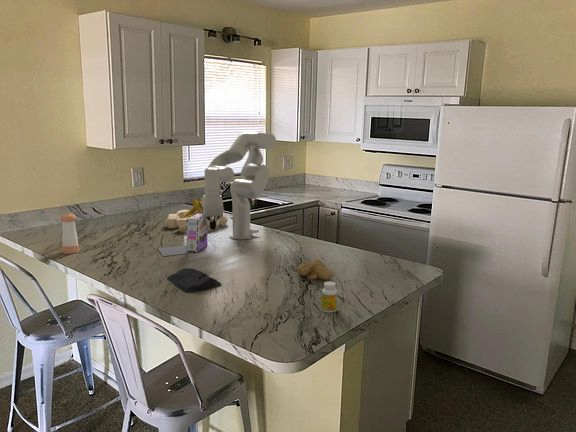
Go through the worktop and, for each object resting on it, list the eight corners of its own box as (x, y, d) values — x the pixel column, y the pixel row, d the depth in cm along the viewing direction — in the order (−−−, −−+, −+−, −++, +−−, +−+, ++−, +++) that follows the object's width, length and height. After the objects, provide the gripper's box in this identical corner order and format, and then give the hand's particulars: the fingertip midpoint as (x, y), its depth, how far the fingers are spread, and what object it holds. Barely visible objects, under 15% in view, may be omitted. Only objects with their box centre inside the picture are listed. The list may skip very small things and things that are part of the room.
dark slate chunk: (197, 272, 206) (197, 261, 205) (224, 287, 189) (223, 275, 188) (164, 279, 197) (163, 268, 196) (188, 295, 180) (188, 283, 179)
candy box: (197, 252, 233) (197, 219, 229) (186, 251, 234) (186, 218, 230) (207, 245, 246) (208, 213, 243) (196, 244, 247) (197, 212, 244)
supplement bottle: (319, 311, 167) (320, 284, 165) (323, 305, 172) (324, 279, 170) (334, 313, 165) (335, 287, 163) (338, 308, 170) (339, 281, 168)
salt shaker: (73, 254, 227) (69, 214, 223) (59, 253, 229) (55, 213, 225) (82, 250, 234) (79, 211, 230) (69, 249, 236) (65, 210, 232)
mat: (185, 246, 244) (185, 245, 244) (192, 253, 232) (192, 252, 232) (157, 248, 238) (157, 248, 238) (163, 256, 226) (163, 255, 226)
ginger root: (293, 267, 210) (298, 250, 208) (328, 276, 210) (333, 259, 208) (292, 280, 195) (297, 262, 193) (330, 290, 195) (335, 272, 193)
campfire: (238, 226, 288) (237, 198, 284) (192, 236, 263) (191, 206, 259) (201, 217, 310) (200, 191, 307) (155, 226, 286) (154, 198, 282)
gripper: (224, 191, 244) (225, 226, 247) (195, 192, 237) (196, 228, 241) (229, 193, 237) (229, 229, 241) (199, 194, 231) (200, 232, 235)
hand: (212, 229), depth 241 cm, fingers closed
